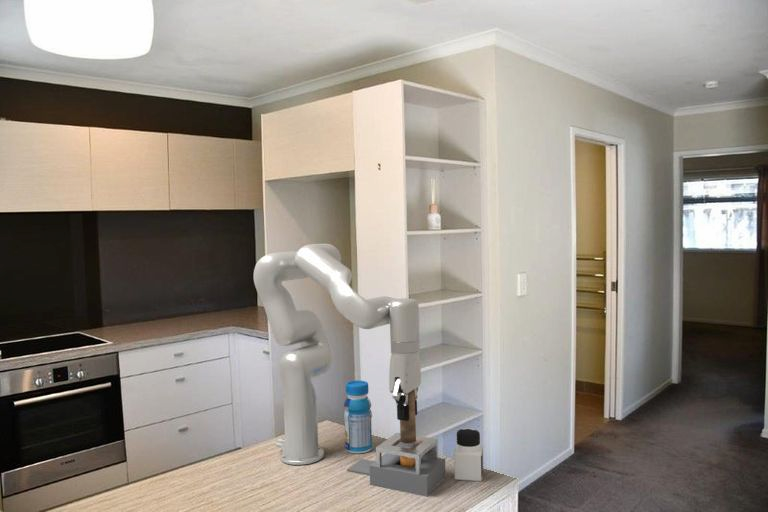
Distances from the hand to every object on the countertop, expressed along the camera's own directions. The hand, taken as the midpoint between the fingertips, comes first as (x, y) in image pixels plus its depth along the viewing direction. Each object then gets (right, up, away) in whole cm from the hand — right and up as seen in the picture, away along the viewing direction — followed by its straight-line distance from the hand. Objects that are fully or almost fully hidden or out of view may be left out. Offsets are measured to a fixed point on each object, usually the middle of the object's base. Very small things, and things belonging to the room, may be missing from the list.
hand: (407, 416), depth 151 cm
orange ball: (0, -14, +1) cm, 14 cm away
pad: (-11, -17, +10) cm, 22 cm away
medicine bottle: (+16, -17, +4) cm, 24 cm away
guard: (0, -12, +1) cm, 12 cm away
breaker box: (0, -17, +1) cm, 17 cm away
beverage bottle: (-14, -16, +24) cm, 32 cm away
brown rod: (0, -6, 0) cm, 6 cm away
